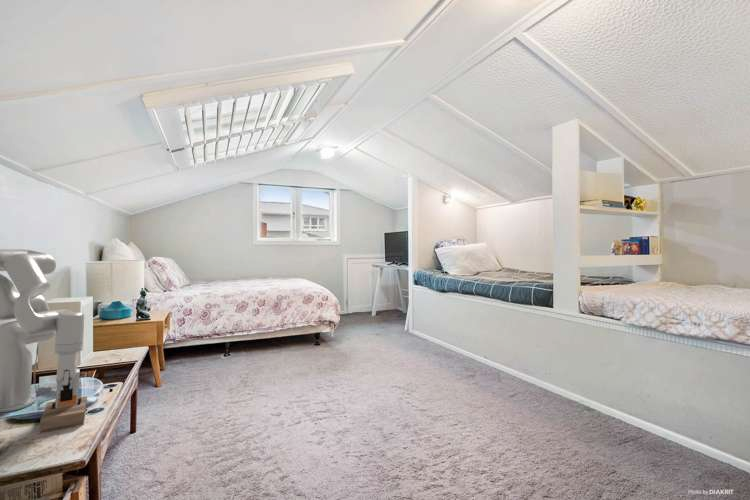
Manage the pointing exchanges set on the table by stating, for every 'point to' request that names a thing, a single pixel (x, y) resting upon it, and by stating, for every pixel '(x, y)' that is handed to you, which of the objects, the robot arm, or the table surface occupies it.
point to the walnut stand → (63, 416)
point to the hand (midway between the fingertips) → (67, 397)
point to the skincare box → (74, 396)
